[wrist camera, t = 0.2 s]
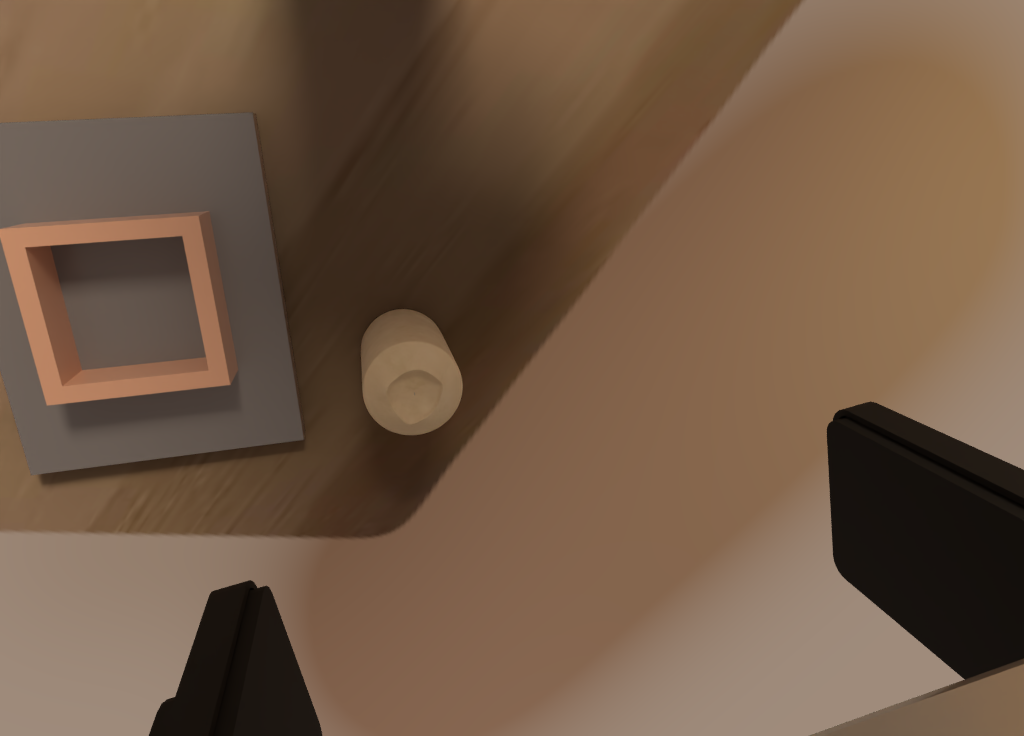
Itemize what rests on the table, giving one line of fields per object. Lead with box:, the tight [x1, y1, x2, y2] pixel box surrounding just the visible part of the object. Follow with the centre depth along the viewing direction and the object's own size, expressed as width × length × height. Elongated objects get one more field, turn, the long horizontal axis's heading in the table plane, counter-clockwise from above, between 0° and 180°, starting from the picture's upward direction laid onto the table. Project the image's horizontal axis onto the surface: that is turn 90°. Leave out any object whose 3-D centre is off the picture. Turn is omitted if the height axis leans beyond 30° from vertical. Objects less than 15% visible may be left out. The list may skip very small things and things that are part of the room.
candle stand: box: [0, 113, 305, 475], centre depth 40 cm, size 20×16×4 cm
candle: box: [361, 309, 463, 435], centre depth 41 cm, size 6×6×10 cm
